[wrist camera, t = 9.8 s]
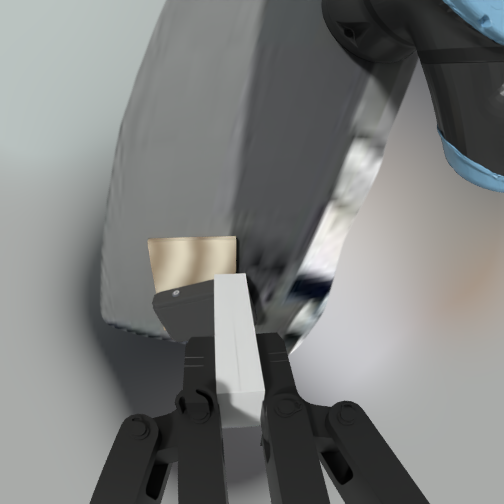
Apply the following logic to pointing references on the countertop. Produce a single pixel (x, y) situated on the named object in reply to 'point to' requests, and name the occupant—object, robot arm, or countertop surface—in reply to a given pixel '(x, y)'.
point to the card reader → (189, 310)
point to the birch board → (190, 260)
